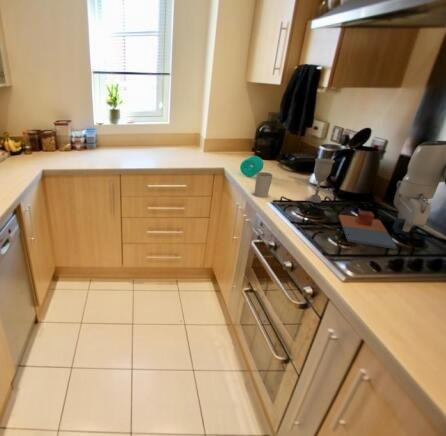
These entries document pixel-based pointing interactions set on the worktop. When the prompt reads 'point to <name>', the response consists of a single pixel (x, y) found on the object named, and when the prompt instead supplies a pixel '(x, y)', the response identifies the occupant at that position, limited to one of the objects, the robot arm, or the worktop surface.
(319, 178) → the chalice
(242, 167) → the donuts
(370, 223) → the terracotta block
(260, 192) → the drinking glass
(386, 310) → the worktop surface
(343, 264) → the worktop surface
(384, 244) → the board
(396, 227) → the slate block
